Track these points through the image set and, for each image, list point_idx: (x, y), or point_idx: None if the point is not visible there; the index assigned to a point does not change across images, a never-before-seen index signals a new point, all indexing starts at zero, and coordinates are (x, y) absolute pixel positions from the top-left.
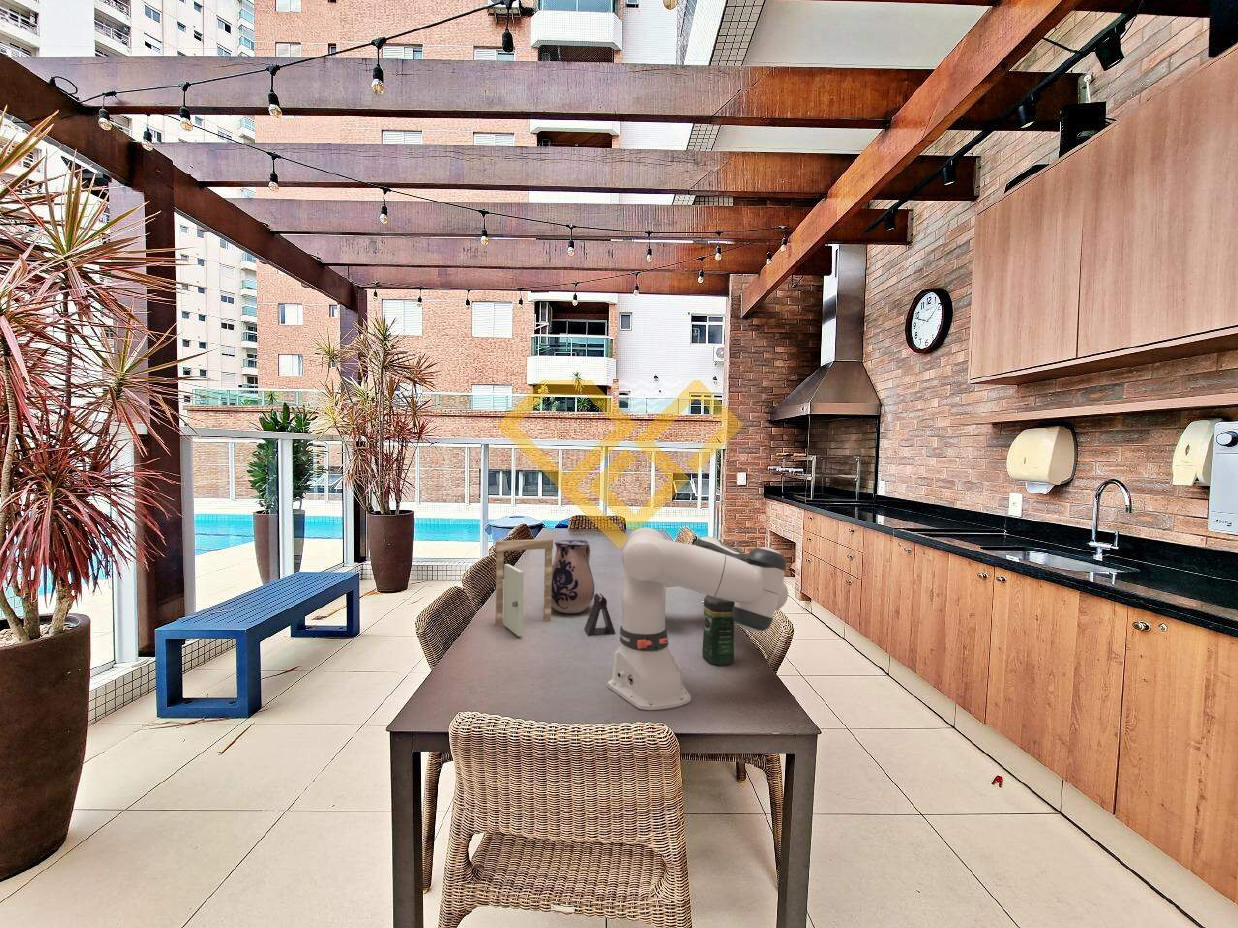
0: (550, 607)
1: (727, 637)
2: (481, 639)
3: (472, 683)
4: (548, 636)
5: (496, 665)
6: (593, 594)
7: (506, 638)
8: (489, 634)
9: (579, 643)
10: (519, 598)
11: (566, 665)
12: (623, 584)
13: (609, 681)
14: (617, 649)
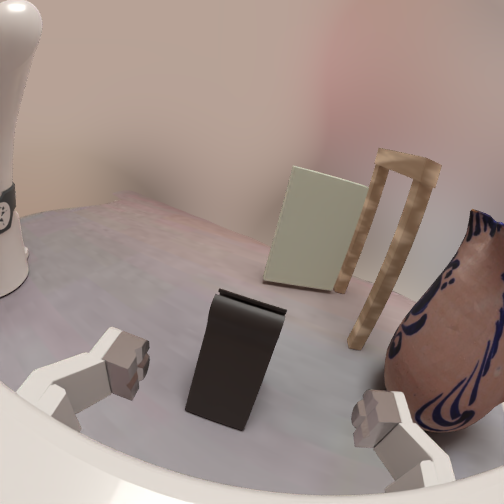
0: (361, 322)
1: None
2: None
3: (155, 216)
4: None
5: (180, 236)
6: (434, 411)
7: None
8: None
9: (180, 321)
10: (280, 213)
11: (114, 264)
12: (18, 112)
13: (25, 249)
14: (15, 211)
